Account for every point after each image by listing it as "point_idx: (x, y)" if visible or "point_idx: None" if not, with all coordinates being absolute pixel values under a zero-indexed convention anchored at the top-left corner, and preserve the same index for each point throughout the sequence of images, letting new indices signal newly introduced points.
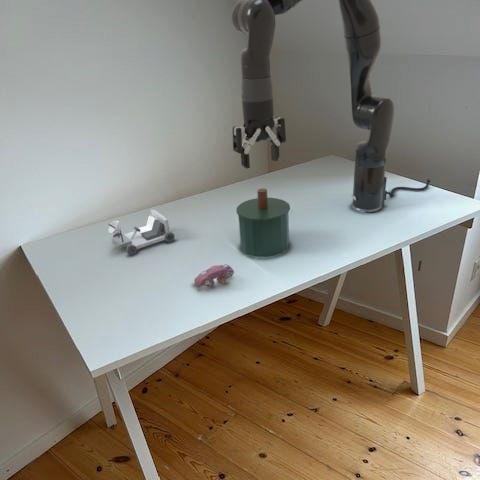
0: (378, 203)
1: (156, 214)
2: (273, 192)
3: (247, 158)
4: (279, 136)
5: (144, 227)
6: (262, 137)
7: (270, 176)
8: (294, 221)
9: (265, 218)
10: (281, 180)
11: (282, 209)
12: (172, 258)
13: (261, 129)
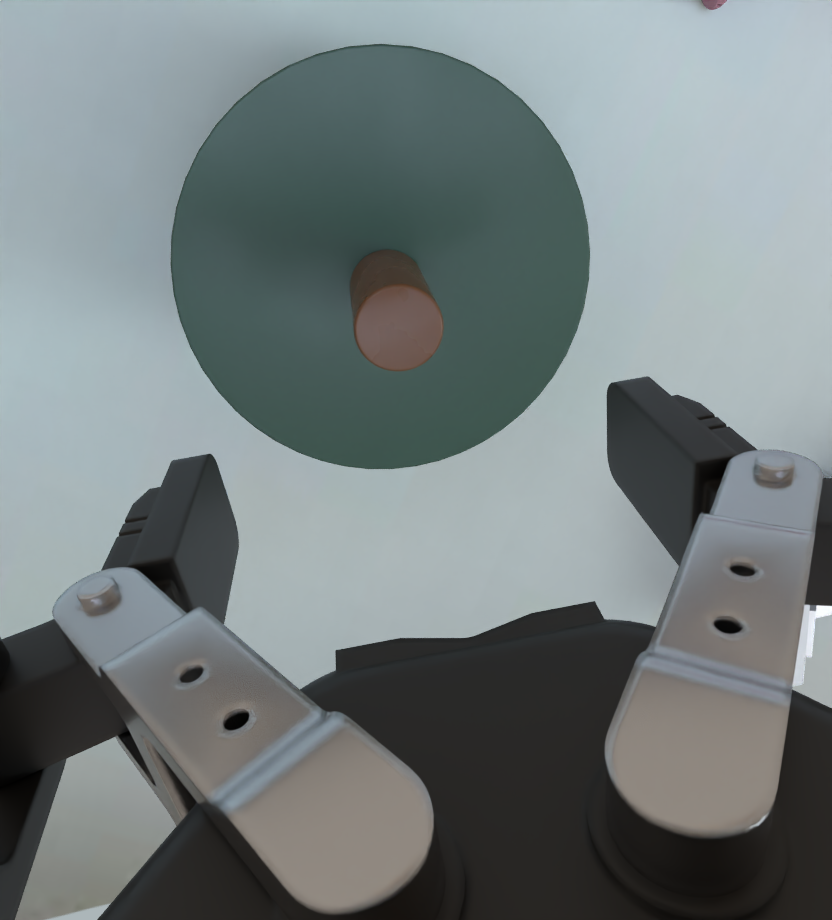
0: None
1: (806, 634)
2: (120, 761)
3: (694, 429)
4: (3, 773)
5: (822, 607)
6: (460, 670)
7: (87, 894)
8: (108, 446)
9: (454, 64)
10: (46, 850)
11: (256, 172)
12: (815, 336)
13: (522, 845)
